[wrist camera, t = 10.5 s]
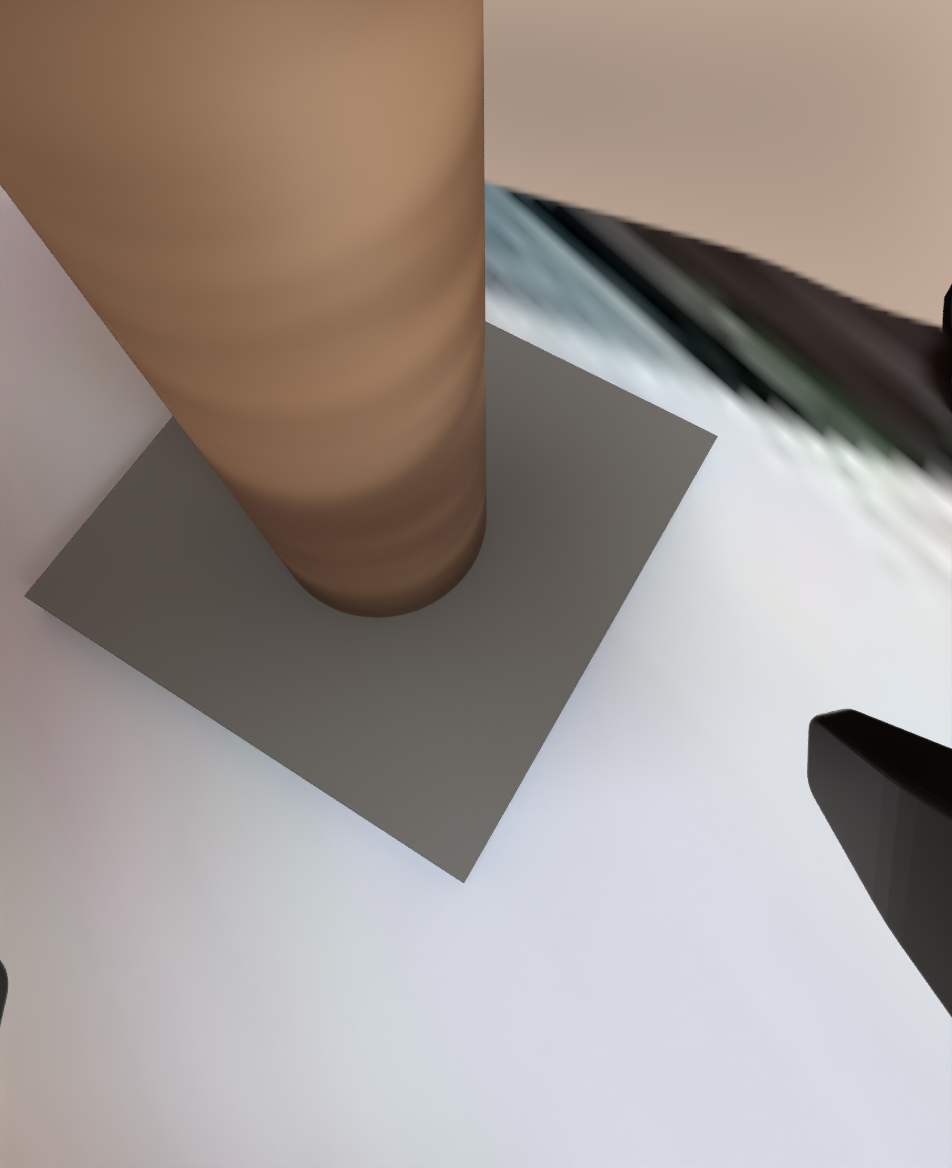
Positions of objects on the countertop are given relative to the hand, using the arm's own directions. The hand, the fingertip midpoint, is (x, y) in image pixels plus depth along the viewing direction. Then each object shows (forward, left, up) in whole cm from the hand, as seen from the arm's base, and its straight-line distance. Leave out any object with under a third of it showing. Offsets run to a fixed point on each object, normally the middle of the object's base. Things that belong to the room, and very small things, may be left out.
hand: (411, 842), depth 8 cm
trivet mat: (+5, +5, -9) cm, 12 cm away
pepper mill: (+5, +5, -8) cm, 11 cm away
